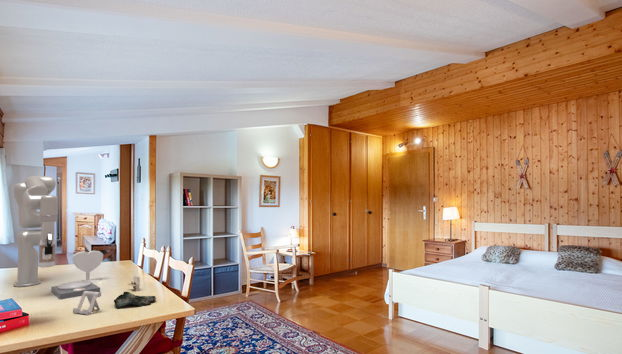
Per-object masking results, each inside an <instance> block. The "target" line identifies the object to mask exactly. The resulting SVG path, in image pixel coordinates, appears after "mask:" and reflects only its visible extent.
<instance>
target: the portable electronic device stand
mask: <svg viewBox="0 0 622 354" xmlns="http://www.w3.org/2000/svg"><path fill="white" fill-rule="evenodd" d="M101 296H102V292H101V291H100V292H92V291H84V292H83V295H82V296H80V300H79V303H78V304H77V307H76V308H75V307H73V308H72V313H74V314H79V315H80V314H81V315H85V316H90V315H91V314H92V311H93V310H95V308H96V309H97V310H98V311H99V310H101V309H100V306H99V303H98V301H97V298H100V297H101ZM85 299H87V301H88V303H89V306H88V309H82V307H83V304H84V302H85Z"/></svg>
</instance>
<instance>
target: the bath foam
mask: <svg viewBox="0 0 622 354" xmlns="http://www.w3.org/2000/svg"><path fill="white" fill-rule="evenodd" d="M52 240H53V238H52ZM56 245H57V244H56V240H55V238H54V240H53V241H52V246H53V251H52V254H48V255H45V247H46V244H45V241H44V242H43V241H42V240H41V241H40V244H39V245H38V246H39V248H38V268H41V269H43V268H52V267H55V266H56V251H57V250H56V248H57V247H56Z"/></svg>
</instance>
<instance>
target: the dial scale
mask: <svg viewBox="0 0 622 354" xmlns="http://www.w3.org/2000/svg"><path fill="white" fill-rule="evenodd" d="M84 291H92V292H100V293H101V287H100V286H98V285H97V284H95V283H93V282H90V281H84V280H79V281H76V280H75V281H70V282H69V281H68V282H65V283H64V282H63V283H61V284H58V285H54V286H51V293H53V294H54V296H55V297H56V298H58V299H59V300H63V299H69V298H75V297H76V298H77V297H82V295H83V292H84Z"/></svg>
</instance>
